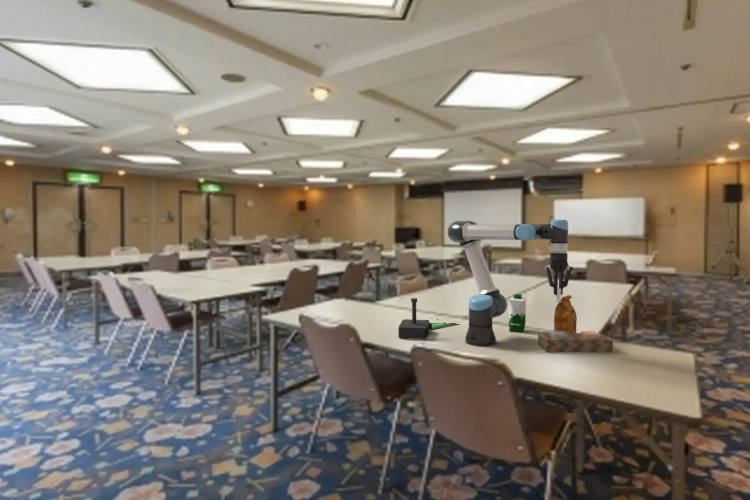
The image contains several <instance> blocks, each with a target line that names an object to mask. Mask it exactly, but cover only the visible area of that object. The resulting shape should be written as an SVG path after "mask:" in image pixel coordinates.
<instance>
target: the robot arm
mask: <svg viewBox="0 0 750 500" xmlns="http://www.w3.org/2000/svg"><path fill="white" fill-rule="evenodd" d="M447 236H448V238H449V240H450V241H451V242H453V243H458V244H459V246H460V248H461V249H462V250H464V252H465V255H466V258H467V261H468V263H469V266H470V269H471V273H472V275H473V278H474V281H475V284H476V287H477V289H478V293H477V294H475V295H472V296H470V297H469V299H468V328H467V332H466V334H465V336H464V337H465V338H464V339H465V340H464V341H465V343H466V344H469V345H471V346H475V347H476V346H478V347H490V346H494V345H495V344H497V338H496V334H495V331H494V328H493V319H495V318H498V317H500V316H502V315H503V314H504V313H506V311H507V309H508V301H507V297H506V296H504V295H503V294H502V293H501V292H500V289H499V288H497V286H495V282H494V281H493V277H492V275H491V272H490V269H489V266H488V264H487V261H486V259H485V256H484V253H483V251H482V246H481V243H482V240H483V241H484V240H487V241H488V240H489V241H492V240H493V241H523V242H525V241H534V240H550V244H549V245H550V247H549V249H550V250H549V252H550V254H549V263H548V265H547V266H544V267H543V269H544V270H545V271H546V277H547V281H548V284H549V287H551V288H553V295H554V296H555V297H554V301H555V302H556V303H559V302H561V298H562V297H561V296H563V293H564V288H567V287H568V284H569V280H570V277H571V273H572V271H573V270H574V267H573V266H570V265H569V263H568V251H569V250H568V249H569V221H568V220H567V219H551V220H550V223H520V224H517V223H510V224H507V223H505V224H503V223H502V224H499V223H498V224H497V223H496V224H495V223H494V224H478V223H477V222H475V221H472V220H456V221H453V222H452V223H450V225H448V227H447ZM551 270H552V272H551ZM565 270H566V271H565ZM552 273H553V275H552Z"/></svg>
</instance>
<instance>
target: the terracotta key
mask: <svg viewBox="0 0 750 500" xmlns="http://www.w3.org/2000/svg"><path fill="white" fill-rule="evenodd" d="M580 333H581V335H582V336H583V337H585V338H600V334H598V333H599V332H597V331H594V330H581V331H580Z"/></svg>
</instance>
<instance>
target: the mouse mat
mask: <svg viewBox="0 0 750 500" xmlns="http://www.w3.org/2000/svg"><path fill="white" fill-rule="evenodd" d="M437 320H438V319H437ZM453 326H458V324H456V323H450V324H449V323H448V324H447V323H445V322H444V323H432V330H431V331H433V330H437V329H438V330H439V329H444V328H449V327H453Z"/></svg>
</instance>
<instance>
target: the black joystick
mask: <svg viewBox="0 0 750 500" xmlns="http://www.w3.org/2000/svg"><path fill="white" fill-rule="evenodd" d="M410 302H411V319H407V318H404V319H402V320H401V322H400V323H399V325H398V328H397V330H398V338H399V339H408V338H414V339H413V340H426V339H427V338H428V337H429V335H430V331H433V330H432V323H430V322H429V320H426V319H417V303H418V298H417V297H411V298H410Z"/></svg>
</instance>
